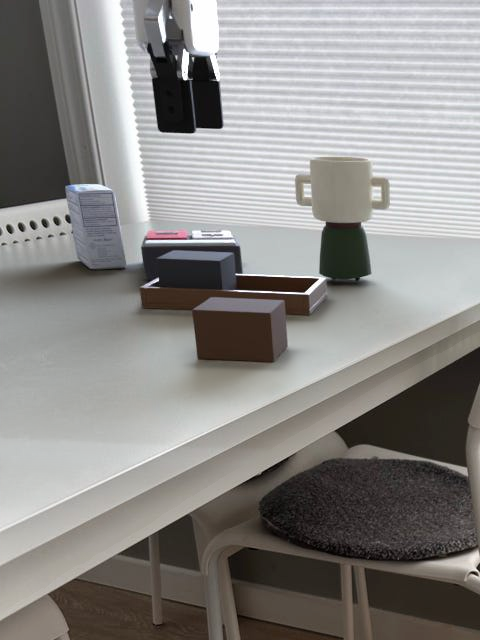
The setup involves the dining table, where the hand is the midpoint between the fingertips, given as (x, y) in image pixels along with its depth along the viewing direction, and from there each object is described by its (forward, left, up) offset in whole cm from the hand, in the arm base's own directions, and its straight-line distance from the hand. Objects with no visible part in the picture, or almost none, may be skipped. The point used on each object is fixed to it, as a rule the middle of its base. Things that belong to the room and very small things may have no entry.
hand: (192, 130), depth 87 cm
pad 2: (+7, -14, -16) cm, 23 cm away
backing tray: (+1, +7, -16) cm, 18 cm away
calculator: (-9, +24, -16) cm, 31 cm away
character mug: (+10, +22, -16) cm, 29 cm away
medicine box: (-21, +26, -16) cm, 37 cm away
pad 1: (-3, +6, -16) cm, 17 cm away
